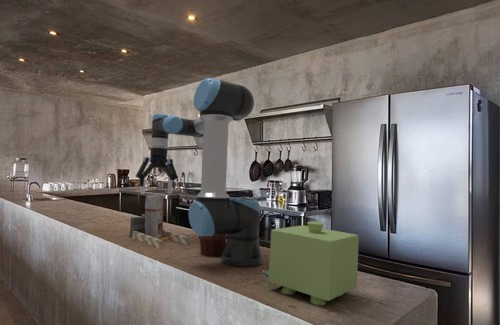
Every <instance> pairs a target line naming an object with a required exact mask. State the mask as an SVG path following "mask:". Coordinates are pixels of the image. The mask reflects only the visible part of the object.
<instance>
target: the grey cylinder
mask: <svg viewBox="0 0 500 325" xmlns="http://www.w3.org/2000/svg"><path fill="white" fill-rule="evenodd" d="M144 204H145V205H144V217H145V234H146V235H149V236H151V237H154V238H161V237H162V231H163V230H164V229H163V227H164V226H163V224H164V196H163V194H161V193H157V194H148V195H146V197H145V202H144Z"/></svg>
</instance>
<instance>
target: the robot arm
mask: <svg viewBox="0 0 500 325" xmlns="http://www.w3.org/2000/svg"><path fill="white" fill-rule="evenodd" d="M193 96H194V97H193V106H194V109H195V110H197V111H198V112H199V117H197V118H195V119H188V118H182V117H181V118H180V117H179V116H177V115H168V114H166V113H165V114H164V113H154V114H153V116H152V121H151V138H150V139H151V141H150V147H151V148H150V157H149V156H148V157H147V156H146V157H145V156H144V157H143V161H142V164H141V165H140V167H139V169H138V171H137V173H136V174H135V177H136V179H137V178H138V179H139V186H140V195H146V188H147V187H146V184H147V179H146V177H147V176H148V175H149V174H150V172H152V170H153V169H162V170H163V172H164V173H165V174H166V176H167V177H168V178H169V179H168V181H167V192H166V193H167V194H169V195H172V194H173V187H174V186H175V185H174V184H175V183H174V182H175V180H176V179H178V178H179V177H178V174H177V172H176V171H177V170H176V168H175V166H174V159H173V158H168V147H169V135H178V136H186V137H192V138H200V139H201V138H202V162H201V179H200V180H201V184H200V191H199V193H198V194H196V197H195V201H193V202H191V203H190V205H189V208H188V221H189V224H190V227H191V229H192V231H193V232H194V233H195V234H196V235H197V236H198V237H199V236H213V235H226V236H227V239H226V243H225V246H224V249H223V251H222V254H221V256H220V261H221V262H222V263H223V264H225V265H228V266H233V267H243V268H244V267H245V268H247V267H249V268H250V267H256V266H259V265H261V264H262V263H263V254H262V250H261V247H260V242H259V237H260V236H259V234H260V221H261V220H260V219H261V218H260V217H261V204H260V202H259V201H257V200H253V199H252V200H251V199H244V198H240V197H234V196H231V197H230V195H229V193H227V172H228V171H227V170H228V169H227V168H228V166H227V165H228V147H229V146H228V144H229V143H228V142H229V125H230V123H231V122H232V121H234V122H238V121H241V120H243V119H246V118H247V117H248V116H249V115H250V114H251V113H252V112H253V110H254V107H255V99H254V95H253V94H252V92H251V91H250V90H249V88H247V87H246V86H244V85H240V84H238V83H234V82H230V81H225V80H221V79H219V78H211V77H207V78H204V79H202V81H201V82H200V83H199V84H198V86H197V87H196V89H195V93H194V95H193ZM167 158H168V159H167ZM148 163H150V164H148ZM167 164H168V165H167ZM146 167H147V168H146Z"/></svg>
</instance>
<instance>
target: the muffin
mask: <svg viewBox="0 0 500 325" xmlns="http://www.w3.org/2000/svg"><path fill="white" fill-rule="evenodd" d="M198 240H199V245H200V255H202V256H205V257H221V254H222V251H223V249H224V246H225V244H226V241H227V234H225V235H213V236H199V235H198Z"/></svg>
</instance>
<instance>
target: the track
mask: <svg viewBox="0 0 500 325" xmlns="http://www.w3.org/2000/svg"><path fill="white" fill-rule="evenodd" d="M129 224H130V225H129V238H132V239H134V240H137V241H140V242H142V243H145V244H147V245H150V246H152V247H155V248H157V249H163V247H164V241H166V240H170V239H171V241H174V242H177V243H180V244H182V245H185V246H186V245H190V236H186V235H182V234H179V233H177V232H173V231H170V230H166V229H163V231H162V237H161V238H154V237H151V236H149V235H146V234H145V216H130V223H129Z"/></svg>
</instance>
